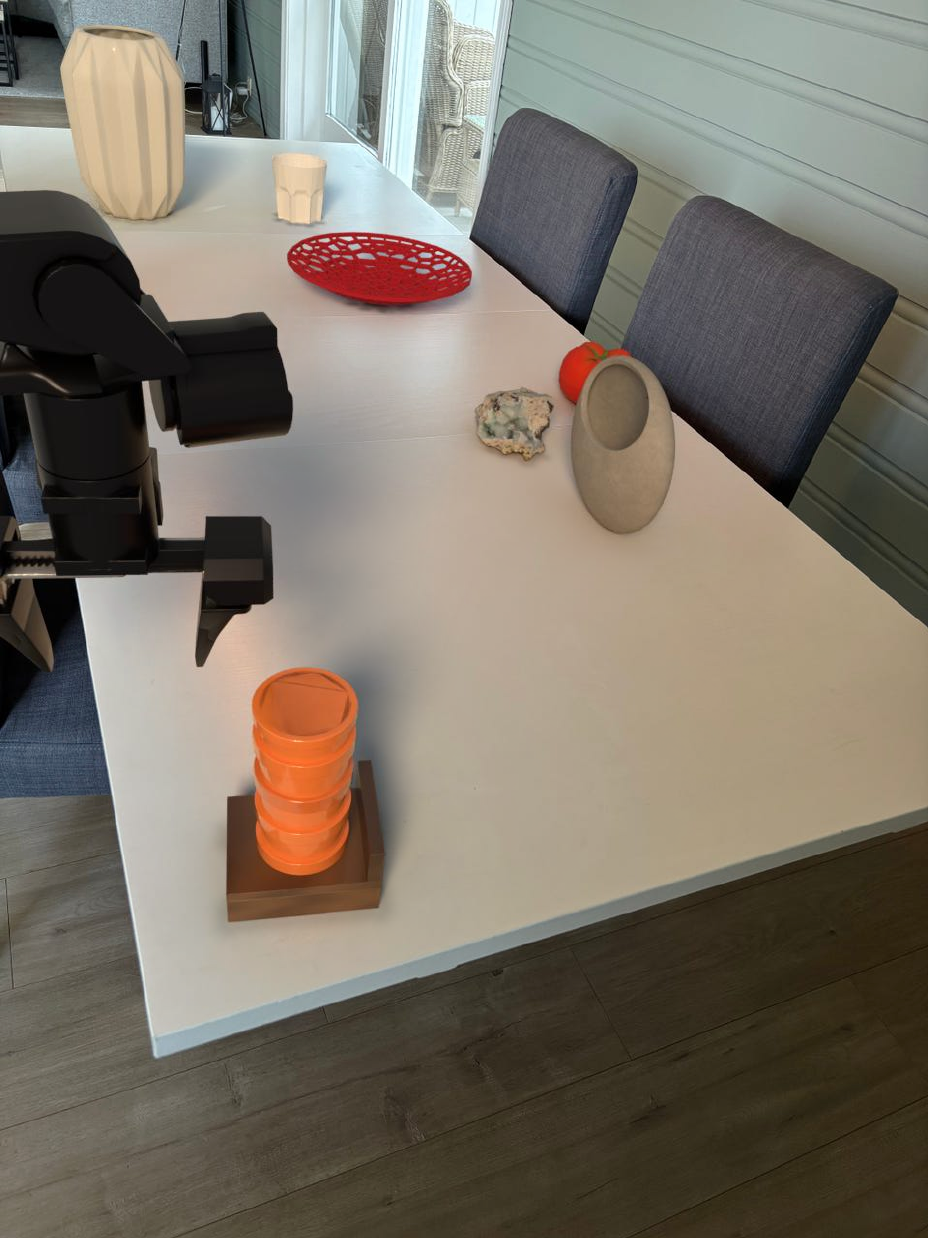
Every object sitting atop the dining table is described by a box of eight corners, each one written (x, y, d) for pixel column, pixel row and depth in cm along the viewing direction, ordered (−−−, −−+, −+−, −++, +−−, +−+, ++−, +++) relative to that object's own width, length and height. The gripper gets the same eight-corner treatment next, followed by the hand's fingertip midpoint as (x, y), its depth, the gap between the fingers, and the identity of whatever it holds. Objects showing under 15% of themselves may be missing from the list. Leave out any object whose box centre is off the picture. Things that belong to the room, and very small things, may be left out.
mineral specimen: (486, 481, 117) (549, 448, 120) (509, 470, 110) (576, 435, 112) (452, 412, 116) (516, 381, 119) (473, 396, 108) (541, 363, 111)
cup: (327, 226, 171) (329, 170, 165) (273, 223, 169) (273, 165, 162) (322, 210, 178) (324, 155, 172) (270, 206, 176) (270, 150, 170)
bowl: (251, 274, 148) (250, 242, 145) (395, 253, 165) (397, 224, 161) (358, 344, 132) (360, 310, 129) (505, 312, 149) (509, 282, 146)
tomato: (540, 400, 126) (550, 348, 121) (580, 377, 133) (591, 328, 129) (607, 428, 122) (620, 376, 117) (644, 403, 129) (658, 353, 124)
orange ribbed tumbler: (238, 827, 62) (232, 691, 54) (316, 787, 66) (321, 653, 57) (287, 892, 59) (287, 757, 51) (366, 846, 62) (378, 713, 54)
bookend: (228, 923, 60) (224, 867, 56) (228, 824, 66) (225, 768, 62) (378, 908, 62) (385, 854, 58) (366, 814, 68) (371, 759, 64)
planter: (541, 478, 110) (572, 327, 98) (593, 474, 112) (629, 326, 100) (609, 570, 97) (654, 409, 85) (667, 563, 99) (718, 406, 87)
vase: (171, 234, 157) (156, 50, 140) (59, 216, 157) (31, 30, 140) (207, 204, 172) (198, 34, 155) (105, 187, 172) (85, 15, 155)
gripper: (267, 389, 57) (270, 585, 67) (-61, 379, 53) (-7, 590, 63) (272, 485, 49) (274, 692, 59) (-116, 482, 45) (-44, 705, 55)
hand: (126, 665), depth 59 cm, fingers open, 9 cm apart
